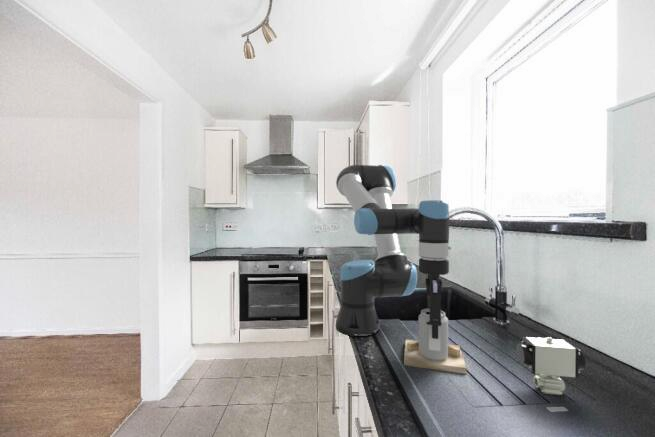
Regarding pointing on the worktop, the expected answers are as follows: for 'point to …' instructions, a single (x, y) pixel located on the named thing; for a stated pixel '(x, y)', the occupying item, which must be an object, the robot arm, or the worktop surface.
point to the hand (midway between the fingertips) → (433, 341)
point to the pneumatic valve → (550, 362)
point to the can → (424, 337)
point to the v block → (448, 364)
